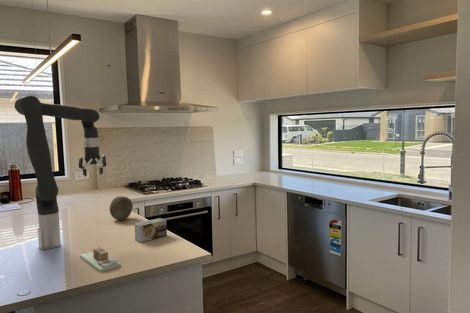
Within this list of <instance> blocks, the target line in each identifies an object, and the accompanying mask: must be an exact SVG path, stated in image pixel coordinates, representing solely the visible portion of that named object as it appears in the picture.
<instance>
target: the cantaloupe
mask: <svg viewBox="0 0 470 313" xmlns="http://www.w3.org/2000/svg"><path fill="white" fill-rule="evenodd" d="M132 211H133V202H132V200H131V199H130V198H129V197H128V196H116V197H114V198H113V199H112V200H111V202H110V204H109V213H110V215H111V217H112V218H113V219H114V220H117V221H125V220H127V218H129V217H130V216H131V213H132Z"/></svg>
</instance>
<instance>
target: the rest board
mask: <svg viewBox="0 0 470 313" xmlns="http://www.w3.org/2000/svg"><path fill="white" fill-rule="evenodd" d="M79 257H80V259H82V260H83V261H84V262H85V263H87V264H89V265H90V266H91V267H92V268H94V269H95V270H96V271H98V273H102V272H105V271H109V270H113V269H115V268H119V267H121V266H122V265H121V264H122V263H121V262H120V261H118V260H116V259H115V258H113V257H111V255H108V259H110V258H112V259H114V260H115V261H117V262H118V264H117V265H113V266H110V267H106V268H103V267H101V266H100V265H99V264H98V262H99V261H98V260H96V259H95V258H94V256H93V251H90V252H85V253H83V254H80V255H79Z"/></svg>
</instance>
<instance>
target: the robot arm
mask: <svg viewBox="0 0 470 313" xmlns="http://www.w3.org/2000/svg"><path fill="white" fill-rule="evenodd" d="M13 106H14V109H15V112H17V113H18V114H20V115H22V116H24V118H25V122H26V135H25V136H26V137H25V139H26V140H25V145H26V150H27V154H28V158H29V161H30V164H31V166H32V168H33V170H34V173H35V176H36V177H35V178H36V187H35V201H36V210H37V218H38V228H37V237H38V248H40V250H50V249H51V250H52V249H55V248H58V247H60V246H61V243H62V242H61V240H62V239H61V228H60V214H59V212H60V210H59V204H58V199H57V198H58V197H57V196H58V193H59V187H58V185H57V182H56V178H55V175H54V171H53V167H52V164H53V163H52V157H51V152H50V147H49V142H48V139H47V135H46V134H47V133H46V129H45V125H44V118H43V116H45V117H52V118H53V117H54V118H58V119H63V120H71V121H81V125H82V128H83V137H84V139H83V140H84V141H83V146H84V147H83V148H84V149H83V150H84V157H80V156H79V157H78V168H79V169H82V175H83V176H84V177H87V176H88V174H87V173H88V172H87V168H88V167H89V166H90V165H97V166H98V167H99V168H98V169H99V173H98V174H99V175H103V173H104V168H105V167H107V160H106V155H100V143H99V142H100V141H99V131H98V128H97V127H96V126H95V123H96V122H98V121H99V119H100V114H99V113H100V112H98V111H97V110H96V109H91V108H83V107H77V106H74V105H73V106H72V105H66V104H54V103H44V102H41V100H40V99H39V98H38V97H36V96H35V95H33V94H32V95H30V94H29V95H24V96H21V97H19V98H17V99H16V100H15V102H14V105H13ZM100 160H101V162H100ZM84 161H85V162H84Z"/></svg>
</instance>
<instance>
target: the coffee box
mask: <svg viewBox="0 0 470 313" xmlns="http://www.w3.org/2000/svg"><path fill="white" fill-rule="evenodd" d="M167 229H168V228H167V219H165V218H162V217H158V218H155V219H153V218H152V219H150V220H146V221H142V222H141V221H140V222H136V223H134V240H135V241H136V242H139V243H142V244H143V243H145V242H149V241H151V240H155V239H160V238H163V237H165V236H167V235H168V234H167V232H168V230H167Z"/></svg>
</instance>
